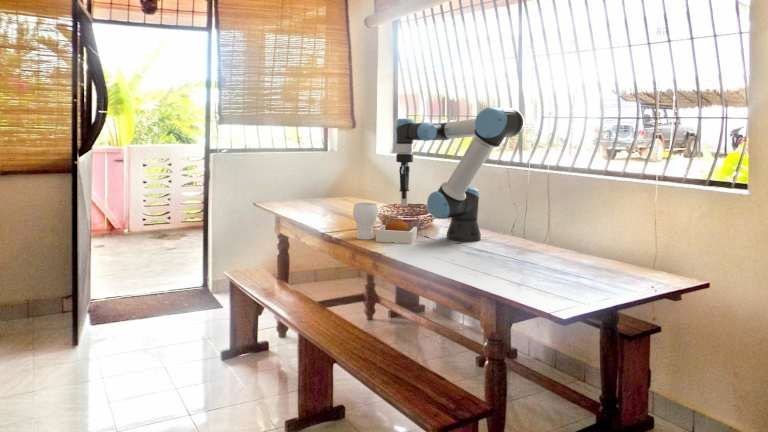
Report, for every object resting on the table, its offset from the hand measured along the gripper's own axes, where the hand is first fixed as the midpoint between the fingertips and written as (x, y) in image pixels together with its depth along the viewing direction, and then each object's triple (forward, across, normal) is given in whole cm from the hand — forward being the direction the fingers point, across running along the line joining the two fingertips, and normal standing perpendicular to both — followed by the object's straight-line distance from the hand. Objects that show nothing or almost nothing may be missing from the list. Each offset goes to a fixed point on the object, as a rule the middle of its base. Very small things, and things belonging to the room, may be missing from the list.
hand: (404, 205), depth 284 cm
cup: (+13, +14, -15) cm, 25 cm away
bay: (+13, +12, -1) cm, 18 cm away
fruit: (+14, +12, -1) cm, 19 cm away
